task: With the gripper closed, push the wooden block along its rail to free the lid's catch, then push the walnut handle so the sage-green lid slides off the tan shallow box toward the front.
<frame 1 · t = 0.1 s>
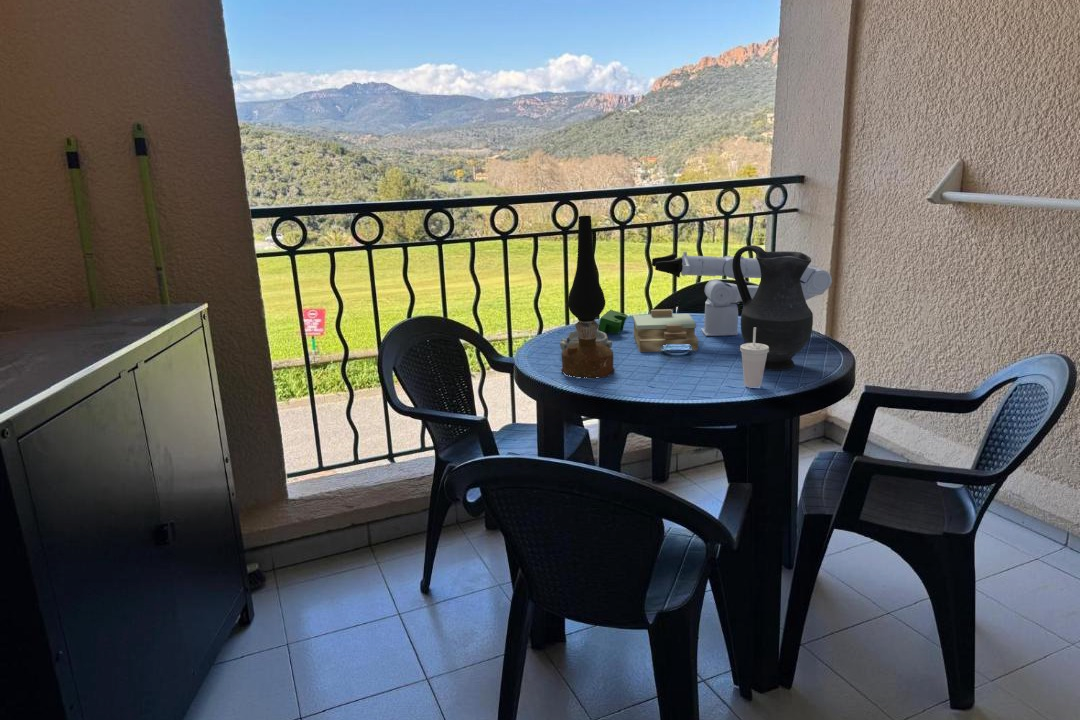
hand: (653, 264, 199), 22 cm above the table, tool horizontal, fingers open, 7 cm apart
wooden block: (675, 335, 188), point 4 cm above the table, slide at 0.0 cm
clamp: (612, 332, 211), on the table
lid: (663, 321, 196), point 6 cm above the table, slide at 0.0 cm
tan shallow box: (663, 340, 199), on the table
oil lamp: (587, 371, 174), on the table
pitcher: (766, 364, 174), on the table
dish: (585, 352, 191), on the table
smoothie: (752, 387, 158), on the table
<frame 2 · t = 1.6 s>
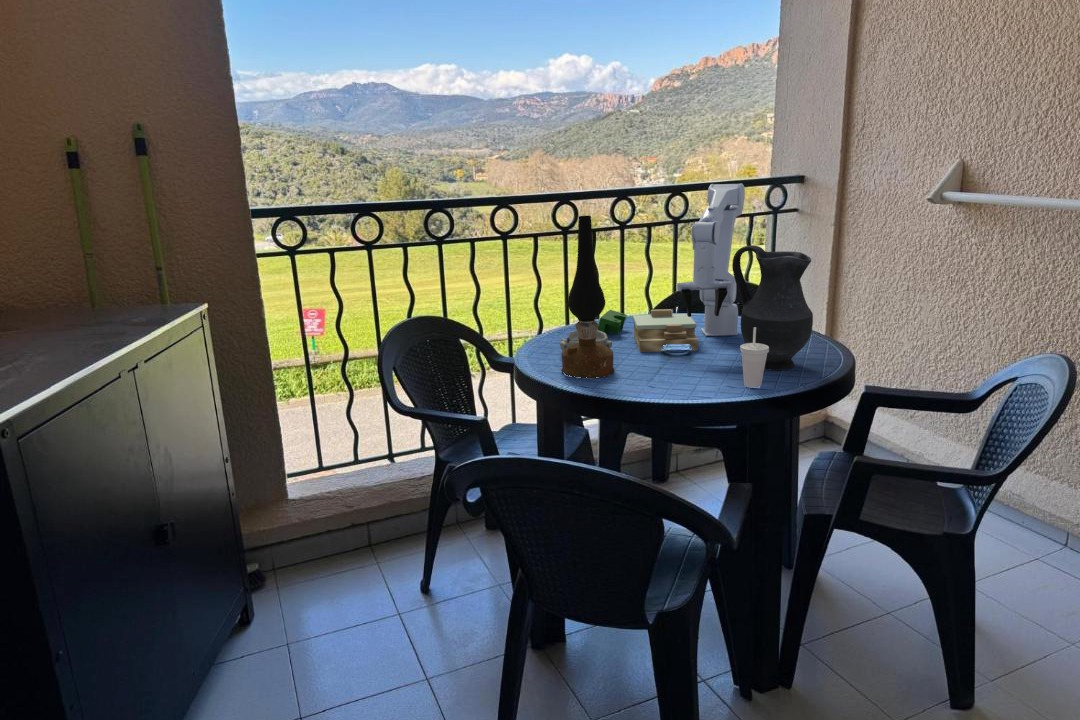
hand: (702, 315, 186), 9 cm above the table, tool pointing down, fingers open, 7 cm apart
nothing on the table moved.
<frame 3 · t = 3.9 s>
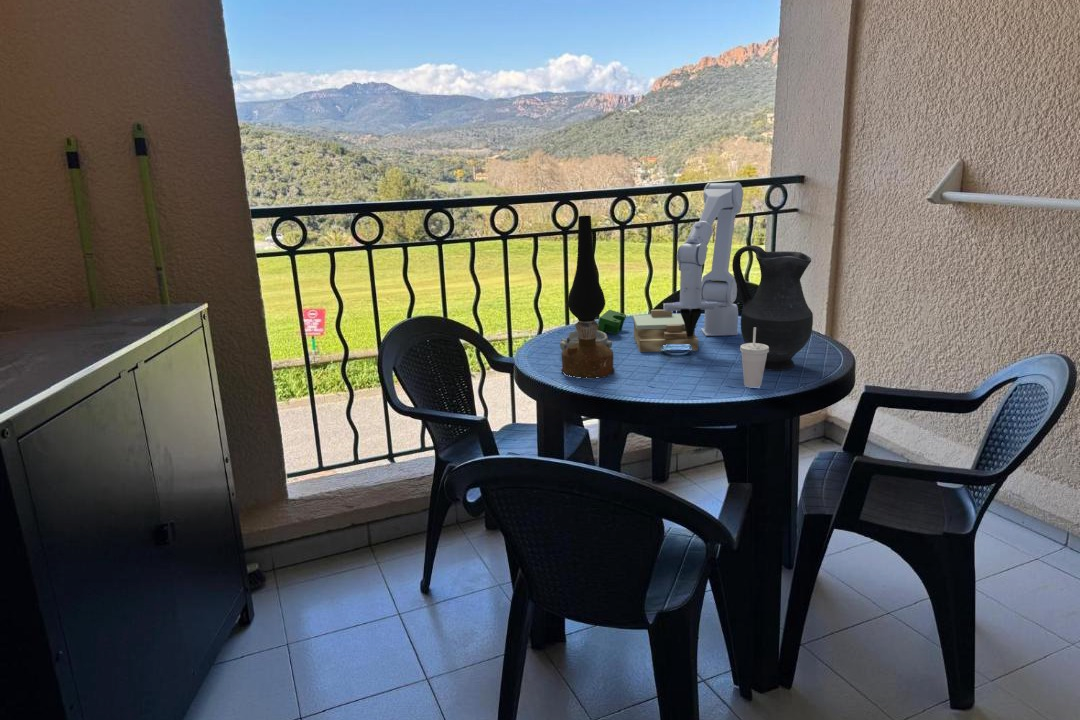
hand: (689, 335, 188), 4 cm above the table, tool pointing down, fingers closed
wooden block: (675, 335, 188), point 4 cm above the table, slide at 0.0 cm, touching gripper
everything else where it was.
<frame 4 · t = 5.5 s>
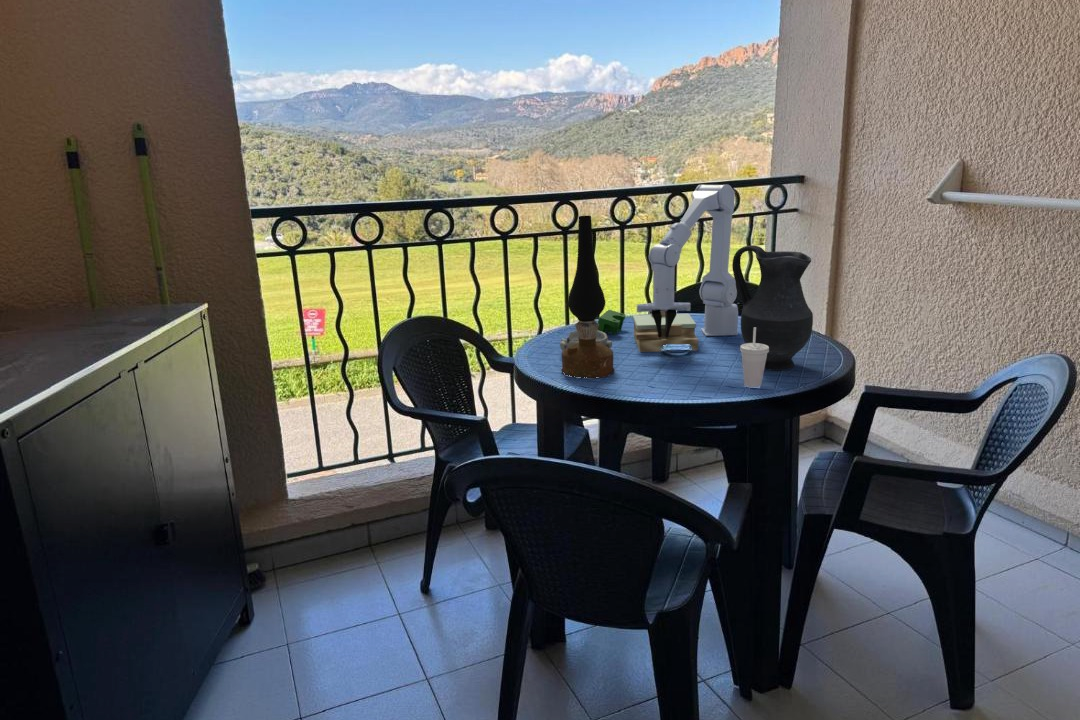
hand: (663, 336, 189), 4 cm above the table, tool pointing down, fingers closed
wooden block: (646, 335, 189), point 4 cm above the table, slide at 7.9 cm, touching gripper
lid: (663, 321, 196), point 6 cm above the table, slide at -0.1 cm, touching gripper
everything else where it was.
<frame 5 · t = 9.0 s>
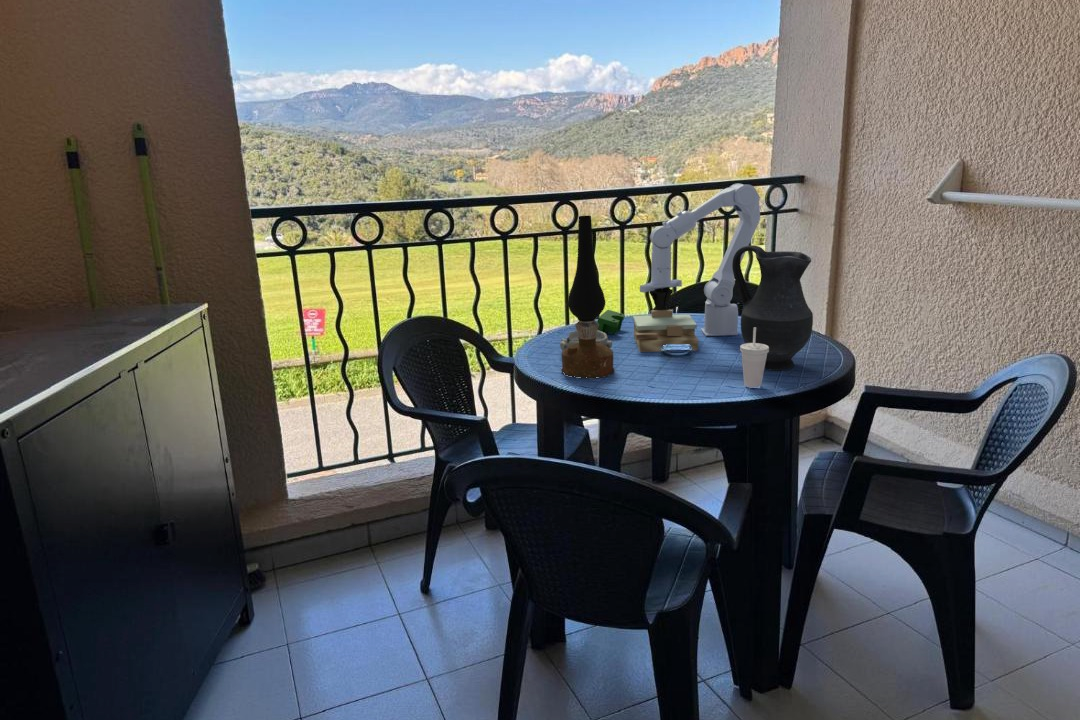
hand: (660, 313, 202), 7 cm above the table, tool pointing down, fingers closed
wooden block: (646, 335, 189), point 4 cm above the table, slide at 8.0 cm
lid: (664, 322, 195), point 6 cm above the table, slide at 0.8 cm, touching gripper
everything else where it was.
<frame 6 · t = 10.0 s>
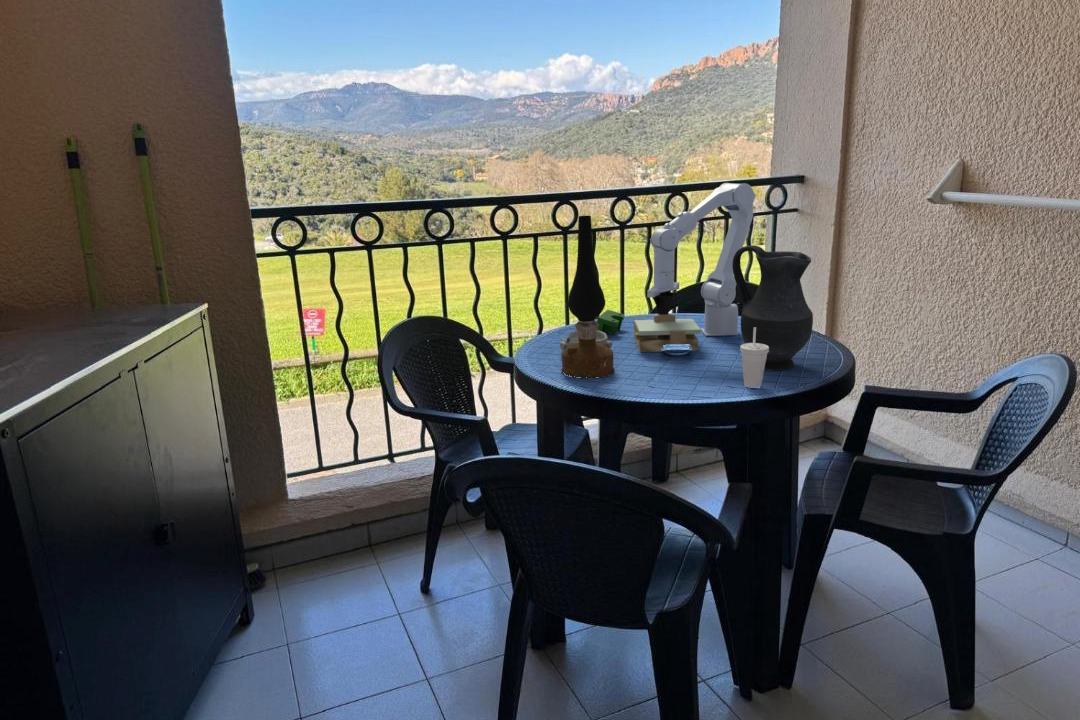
hand: (663, 317, 197), 7 cm above the table, tool pointing down, fingers closed
lid: (667, 327, 190), point 6 cm above the table, slide at 6.5 cm, touching gripper
everything else where it was.
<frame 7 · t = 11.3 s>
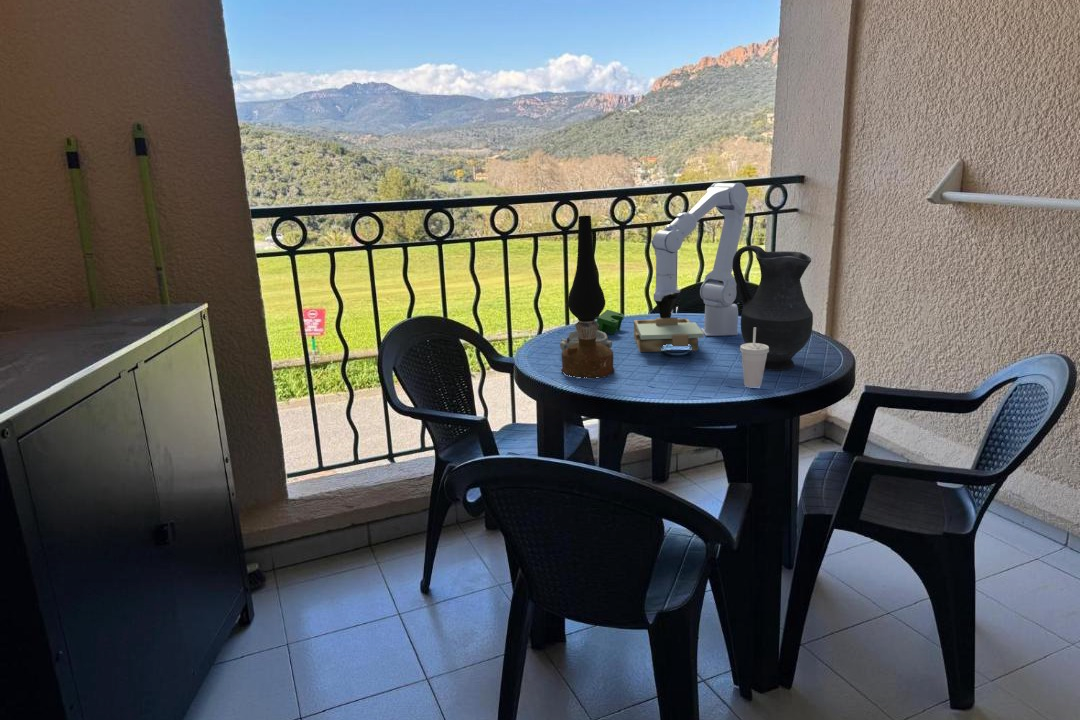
hand: (665, 321, 193), 7 cm above the table, tool pointing down, fingers closed
lid: (669, 330, 186), point 6 cm above the table, slide at 10.7 cm, touching gripper
everything else where it was.
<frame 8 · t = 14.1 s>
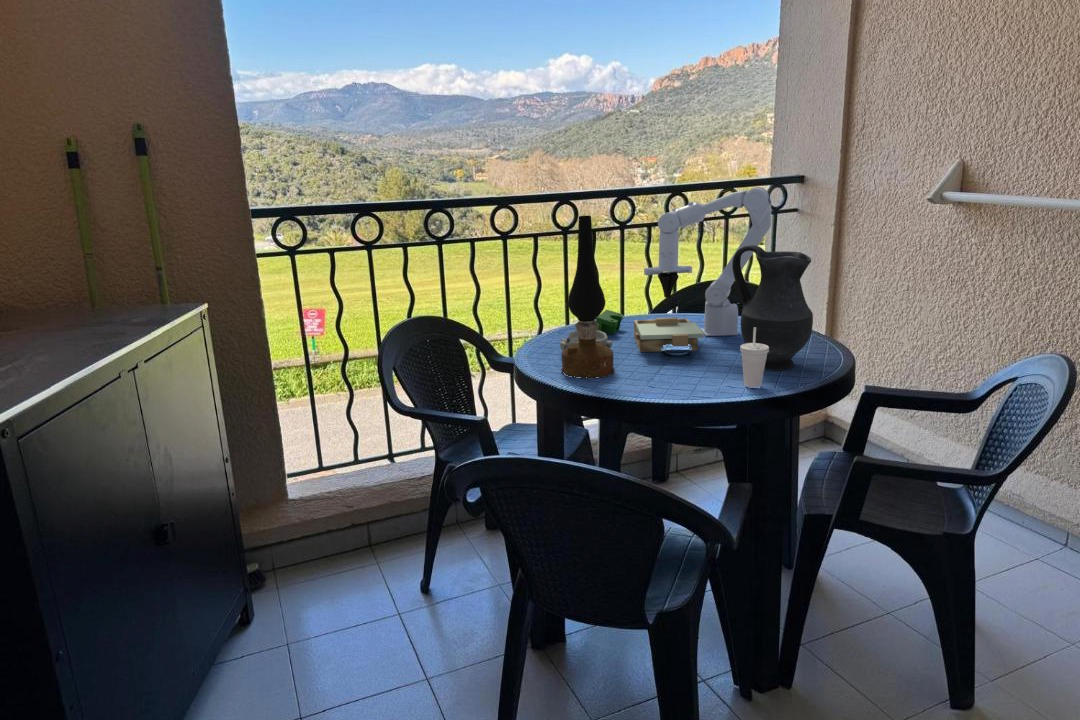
hand: (667, 297, 207), 10 cm above the table, tool pointing down, fingers closed
lid: (669, 330, 186), point 6 cm above the table, slide at 10.8 cm
at the end: wooden block slide at 8.0 cm; lid slide at 10.8 cm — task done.
